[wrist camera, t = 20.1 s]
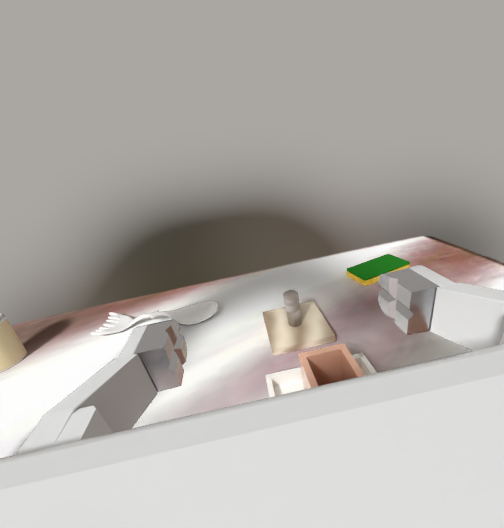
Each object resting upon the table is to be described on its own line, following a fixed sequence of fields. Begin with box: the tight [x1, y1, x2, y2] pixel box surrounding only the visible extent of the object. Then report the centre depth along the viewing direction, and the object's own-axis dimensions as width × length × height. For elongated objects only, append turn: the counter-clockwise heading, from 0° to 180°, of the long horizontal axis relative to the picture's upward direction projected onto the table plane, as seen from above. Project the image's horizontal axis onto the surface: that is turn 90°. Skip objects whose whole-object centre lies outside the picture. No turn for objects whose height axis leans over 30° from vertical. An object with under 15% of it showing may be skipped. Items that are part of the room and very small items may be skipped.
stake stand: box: [263, 290, 336, 356], centre depth 49 cm, size 12×12×8 cm
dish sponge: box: [347, 254, 410, 286], centre depth 63 cm, size 7×14×2 cm, turn 108°
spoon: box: [91, 301, 218, 336], centre depth 62 cm, size 9×32×3 cm, turn 88°
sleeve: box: [298, 343, 365, 389], centre depth 30 cm, size 6×6×10 cm
